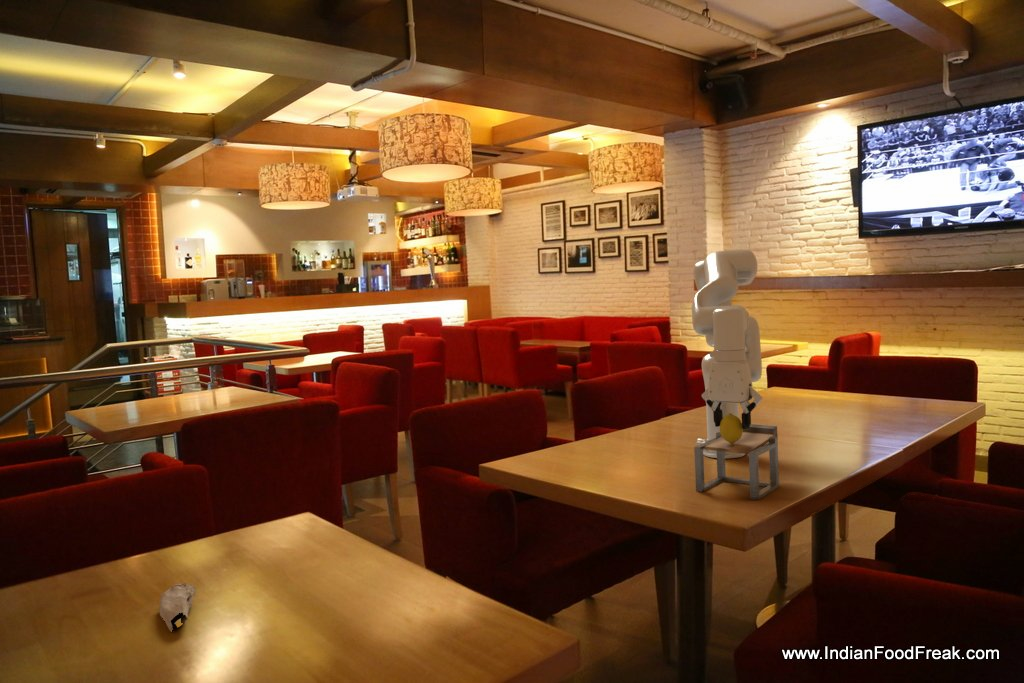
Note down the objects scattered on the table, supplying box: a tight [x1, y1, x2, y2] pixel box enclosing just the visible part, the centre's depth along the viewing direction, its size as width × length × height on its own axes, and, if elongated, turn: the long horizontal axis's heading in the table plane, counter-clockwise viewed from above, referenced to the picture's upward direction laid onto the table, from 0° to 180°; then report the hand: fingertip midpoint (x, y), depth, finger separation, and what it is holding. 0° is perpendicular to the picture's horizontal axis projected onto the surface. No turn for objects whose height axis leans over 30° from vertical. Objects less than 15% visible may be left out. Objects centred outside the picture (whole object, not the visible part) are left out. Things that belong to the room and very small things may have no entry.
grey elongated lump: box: [157, 582, 196, 631], centre depth 127 cm, size 14×6×5 cm, turn 22°
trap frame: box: [694, 432, 780, 501], centre depth 186 cm, size 16×14×13 cm
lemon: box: [720, 413, 743, 444], centre depth 184 cm, size 6×6×8 cm
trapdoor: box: [705, 423, 779, 455], centre depth 188 cm, size 12×19×4 cm, turn 139°
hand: (732, 426), depth 184 cm, fingers open, 6 cm apart
